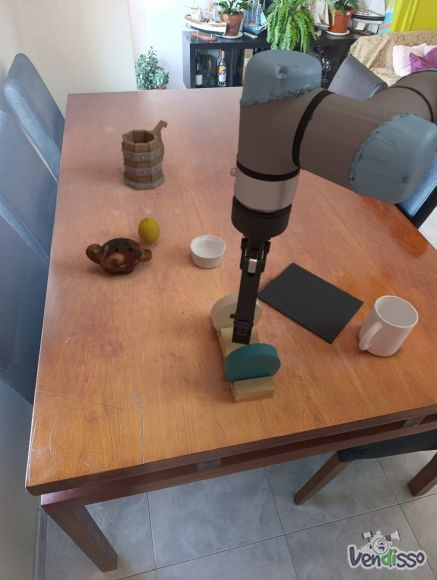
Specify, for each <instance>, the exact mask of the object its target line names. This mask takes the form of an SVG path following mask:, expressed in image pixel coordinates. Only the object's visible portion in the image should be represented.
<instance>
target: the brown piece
mask: <svg viewBox="0 0 437 580" xmlns="http://www.w3.org/2000/svg"><path fill="white" fill-rule="evenodd" d="M85 255H86V257H87V259H88V260H90V261H91V262H93V263H95V264H97V265H99V266H100V267H101V268H102V269H103V270H104V272H105V273H106V274H107V275H108V276H110V277H112V276H114V275H116V274H117V273H118V272H123V273H125V274H126V275H130V274H132V273H133V272H134V270H135V267H137V266H138V265H139V264H140V263H144V262H150V261H151V260H152V258H153V251H152V249H150V248H146V247H145V248H144V247H143V246H142V245H141V244H140V243H139V242H138V241H136V240H134V239H131V238H127V237H116V238H112V239H109V240H107V241H106V242H104V243H103V244H102V245H101V244H100V243H91V244H89V245H88V246H87V247H86V249H85Z"/></svg>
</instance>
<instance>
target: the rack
mask: <svg viewBox="0 0 437 580" xmlns="http://www.w3.org/2000/svg"><path fill="white" fill-rule="evenodd" d="M215 331H216V335H217V339H218V340H219V344H220V347H221V353H222V356H223V361H224V360H225V358H226V357H227V356H228V355H229V354H230V353H231V352H232V351H234V350H235V349H237V348H239V347H242V346H245V344H239V343H233V342H232V335H233V327H229V328H221V329H220V331H218V330H217V329H216V328H215ZM253 343H261V341H260V338H259V335H258V333H257V330H256V325H255V326H253V328H252V332H251V337H250V343H249V344H253ZM228 385H229V388H230V391H231V393H232V396H233V401H234V405H235V404H241V403H247V402H254V401H260V400H267V399H272V398H273V395H274V393H275V390H276V386H275V383H274V380H273V376H272V377H271V376H268V377H261V378H254V379H248V380H241V381H235V382H234V383H233V384H232V383H230V382H229V381H228Z"/></svg>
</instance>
